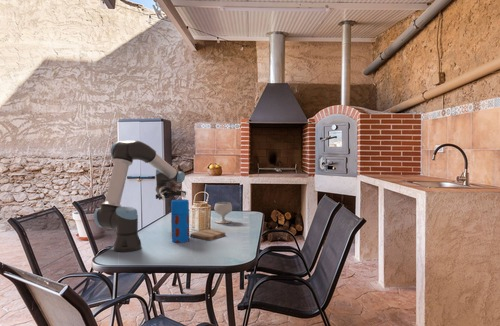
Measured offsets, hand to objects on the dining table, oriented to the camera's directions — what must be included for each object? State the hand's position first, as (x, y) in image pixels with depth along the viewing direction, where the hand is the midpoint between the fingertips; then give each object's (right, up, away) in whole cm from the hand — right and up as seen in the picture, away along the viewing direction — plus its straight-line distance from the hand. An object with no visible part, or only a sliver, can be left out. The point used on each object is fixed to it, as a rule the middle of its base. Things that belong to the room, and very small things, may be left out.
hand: (174, 196), depth 222 cm
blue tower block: (+5, -27, -6) cm, 28 cm away
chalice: (+27, -25, +49) cm, 61 cm away
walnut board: (+21, -26, +5) cm, 34 cm away
